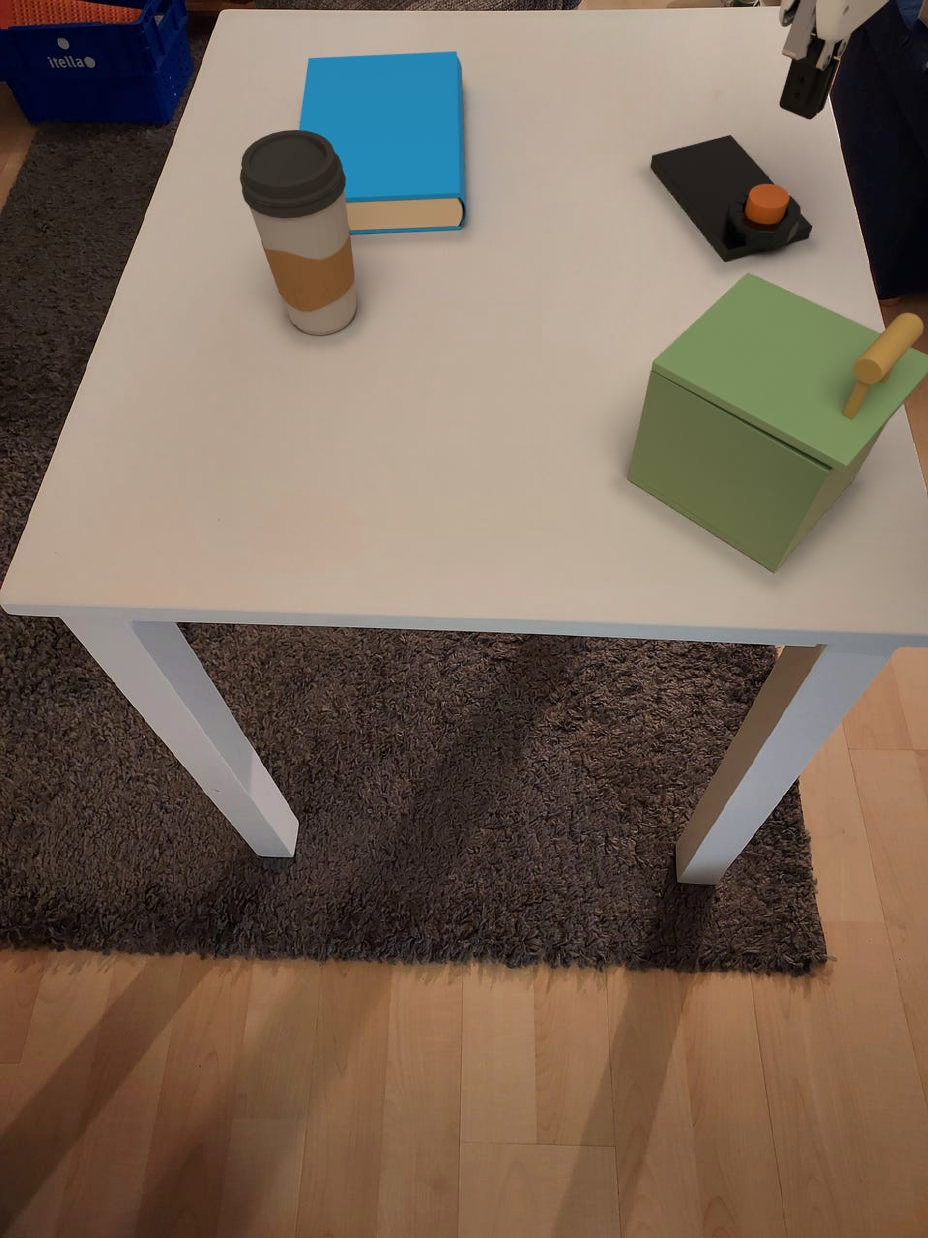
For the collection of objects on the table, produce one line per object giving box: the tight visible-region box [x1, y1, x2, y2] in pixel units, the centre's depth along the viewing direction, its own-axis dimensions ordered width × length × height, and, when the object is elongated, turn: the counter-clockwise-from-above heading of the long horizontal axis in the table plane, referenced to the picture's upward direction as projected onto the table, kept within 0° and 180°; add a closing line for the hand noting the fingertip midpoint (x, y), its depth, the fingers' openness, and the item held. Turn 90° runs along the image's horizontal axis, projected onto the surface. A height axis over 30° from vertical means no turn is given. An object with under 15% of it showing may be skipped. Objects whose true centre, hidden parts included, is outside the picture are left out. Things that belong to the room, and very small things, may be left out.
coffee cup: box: [239, 129, 357, 336], centre depth 72 cm, size 8×8×15 cm
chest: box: [627, 369, 888, 573], centre depth 62 cm, size 14×12×12 cm
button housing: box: [649, 134, 814, 263], centre depth 82 cm, size 17×9×3 cm, turn 20°
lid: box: [651, 272, 928, 473], centre depth 54 cm, size 14×12×6 cm
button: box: [745, 184, 790, 224], centre depth 78 cm, size 4×4×2 cm
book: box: [298, 50, 467, 235], centre depth 88 cm, size 17×4×25 cm
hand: (800, 108), depth 69 cm, fingers closed
